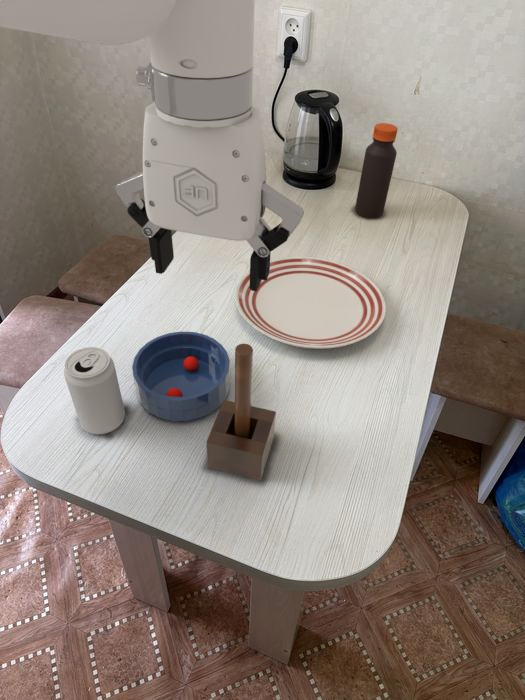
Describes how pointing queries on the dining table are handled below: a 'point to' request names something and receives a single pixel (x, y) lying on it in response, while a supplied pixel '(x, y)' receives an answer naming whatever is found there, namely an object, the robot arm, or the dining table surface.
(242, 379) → the stirring stick
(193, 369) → the tomato
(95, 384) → the beverage can
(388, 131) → the bottle
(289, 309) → the dinner plate
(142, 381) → the bowl
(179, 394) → the tomato
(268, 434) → the holder
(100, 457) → the dining table surface
